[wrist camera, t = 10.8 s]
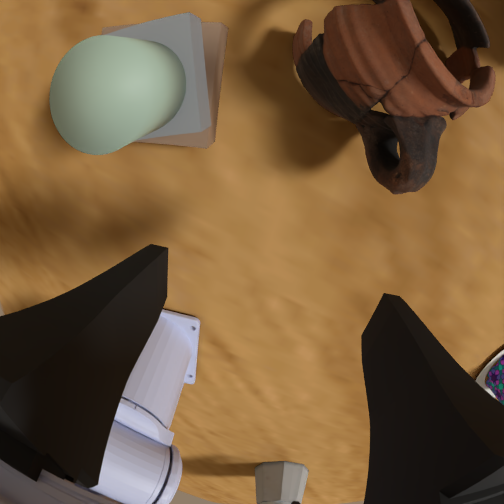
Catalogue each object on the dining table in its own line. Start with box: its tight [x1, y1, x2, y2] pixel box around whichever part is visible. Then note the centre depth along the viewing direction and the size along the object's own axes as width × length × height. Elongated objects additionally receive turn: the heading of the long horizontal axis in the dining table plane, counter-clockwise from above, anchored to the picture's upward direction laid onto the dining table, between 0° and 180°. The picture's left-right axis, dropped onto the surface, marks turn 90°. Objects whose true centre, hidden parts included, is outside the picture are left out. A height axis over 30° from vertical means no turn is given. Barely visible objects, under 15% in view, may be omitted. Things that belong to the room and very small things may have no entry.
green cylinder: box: [49, 35, 186, 155], centre depth 11 cm, size 5×5×4 cm
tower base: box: [102, 22, 228, 148], centre depth 16 cm, size 7×7×2 cm
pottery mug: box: [293, 0, 495, 194], centre depth 13 cm, size 12×10×8 cm
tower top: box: [105, 12, 211, 140], centre depth 14 cm, size 6×6×2 cm
